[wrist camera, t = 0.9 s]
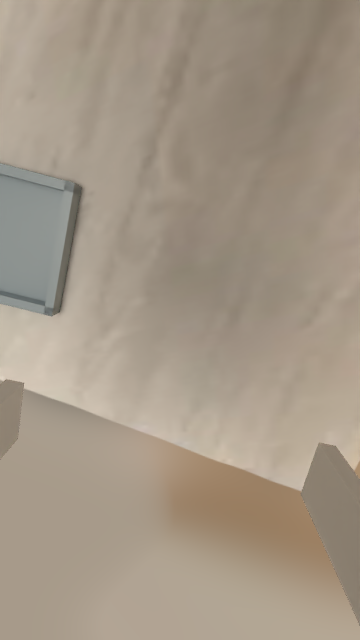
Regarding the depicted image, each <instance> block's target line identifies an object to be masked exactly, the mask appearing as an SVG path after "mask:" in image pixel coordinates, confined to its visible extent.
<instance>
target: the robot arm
mask: <svg viewBox="0 0 360 640" xmlns="http://www.w3.org/2000/svg"><path fill="white" fill-rule="evenodd" d="M23 388H24V383H22V382H17V381H12V380H7V379H6V380H5V381H4V382H2V383H1V384H0V459H1V458H2V457H3V456H4V455H5V453H6V452H7V451H8V450H9V449H10V447H11V446H12V445H13V444H14V443H15V441H16V440H17V439H18V433H19V424H20V414H21V406H22V397H23ZM301 496H302V498H303V500H304V503H305V505H306V507H307V509H308V512H309V514H310V516H311V518H312V521H313V523H314V525H315V527H316V529H317V532H318V534H319V536H320V538H321V540H322V543H323V545H324V547H325V549H326V552H327V554H328V556H329V558H330V561H331V563H332V565H333V567H334V569H335V571H336V574H337V576H338V578H339V580H340V583H341V585H342V587H343V589H344V592H345V594H346V596H347V598H348V600H349V602H350V605H351V607H352V609H353V611H354V614H355V616H356V618H357V620H358V623H359V625H360V479H359V478H358V476H357V475H356V474H355V472H354V471H353V469H352V468H351V467H350V465H349V464H348V462H347V461H346V460H345V458H344V457H343V456H342V454H341V453H340V451H339V450H338V449H337V447H336V446H333V445H328V444H323V443H319V444H318V447H317V449H316V452H315V455H314V458H313V461H312V464H311V466H310V469H309V472H308V475H307V478H306V481H305V483H304V486H303V489H302V492H301Z"/></svg>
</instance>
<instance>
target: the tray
mask: <svg viewBox="0 0 360 640" xmlns="http://www.w3.org/2000/svg"><path fill="white" fill-rule="evenodd" d="M81 188H82V187H81V186H79V185H77V184H76V183H73V182H69V181H65V180H61V179H58V178H54V177H50V176H46V175H43V174H39V173H35V172H31V171H28V170H24V169H20V168H16V167H13V166H9V165H5V164H1V163H0V304H4V305H8V306H12V307H16V308H20V309H24V310H28V311H32V312H36V313H40V314H44V315H48V316H53V315H55V314H57V313H59V312H60V307H61V302H62V296H63V290H64V285H65V279H66V273H67V267H68V262H69V256H70V250H71V245H72V239H73V233H74V228H75V222H76V216H77V211H78V205H79V199H80V194H81Z"/></svg>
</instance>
